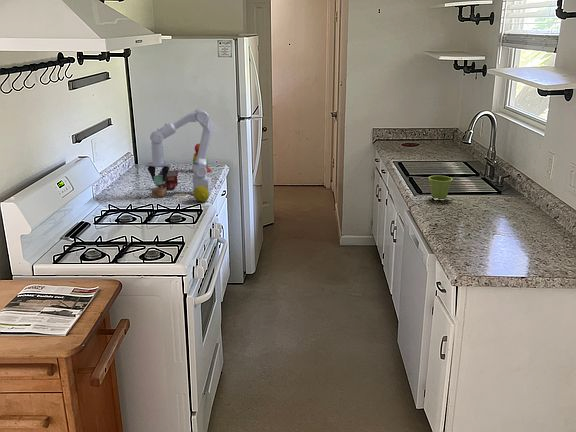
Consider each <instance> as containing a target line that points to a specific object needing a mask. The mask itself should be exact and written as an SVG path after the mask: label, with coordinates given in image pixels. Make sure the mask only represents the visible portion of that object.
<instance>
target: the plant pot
mask: <svg viewBox="0 0 576 432" xmlns="http://www.w3.org/2000/svg"><path fill="white" fill-rule="evenodd" d="M428 180H429V185H430V193H431V195H430V196H432V197H433V198H438V199H445V198H446V199H448V193H449V190H450V186H451V184H452V183H451V182H452V181H453V177H451V176H450V177H449V176H446V175H431V176H428Z"/></svg>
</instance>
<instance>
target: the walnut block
mask: <svg viewBox="0 0 576 432" xmlns="http://www.w3.org/2000/svg"><path fill="white" fill-rule="evenodd" d="M167 189H168V187H166V188H159V187H154V188H153V189H151V198H155V199H157V198H159V199H163V198H165V197H166V196H168V190H167Z"/></svg>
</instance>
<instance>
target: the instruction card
mask: <svg viewBox="0 0 576 432" xmlns="http://www.w3.org/2000/svg"><path fill="white" fill-rule="evenodd" d="M189 196H191V193H190V194H187V193H185V194H184V193H175V194H173V195H172V196H171V198H182V199H187V198H188V197H189Z"/></svg>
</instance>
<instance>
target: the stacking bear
mask: <svg viewBox="0 0 576 432" xmlns="http://www.w3.org/2000/svg"><path fill="white" fill-rule="evenodd" d="M199 146H200V143H196V144H195V145H194V151H195V152H194V154H193V157H192V166H193V165H194V163H195V160H196V158H197V156H198V151H199ZM206 163H207V165H206V169H207V173H211V171H212V170H213V169H212V168H210V167H208V166H209V159H208V157H207V159H206Z"/></svg>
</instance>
